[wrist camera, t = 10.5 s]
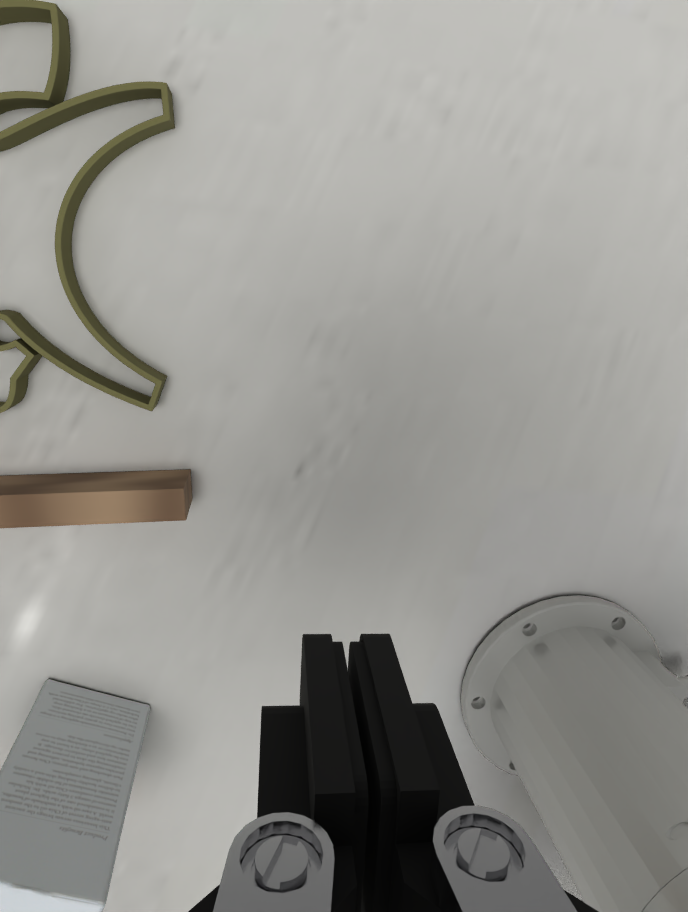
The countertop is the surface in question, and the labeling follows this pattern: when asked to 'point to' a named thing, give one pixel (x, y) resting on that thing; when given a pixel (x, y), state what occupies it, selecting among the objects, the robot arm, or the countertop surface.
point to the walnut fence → (94, 498)
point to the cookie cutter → (73, 200)
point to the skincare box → (67, 799)
